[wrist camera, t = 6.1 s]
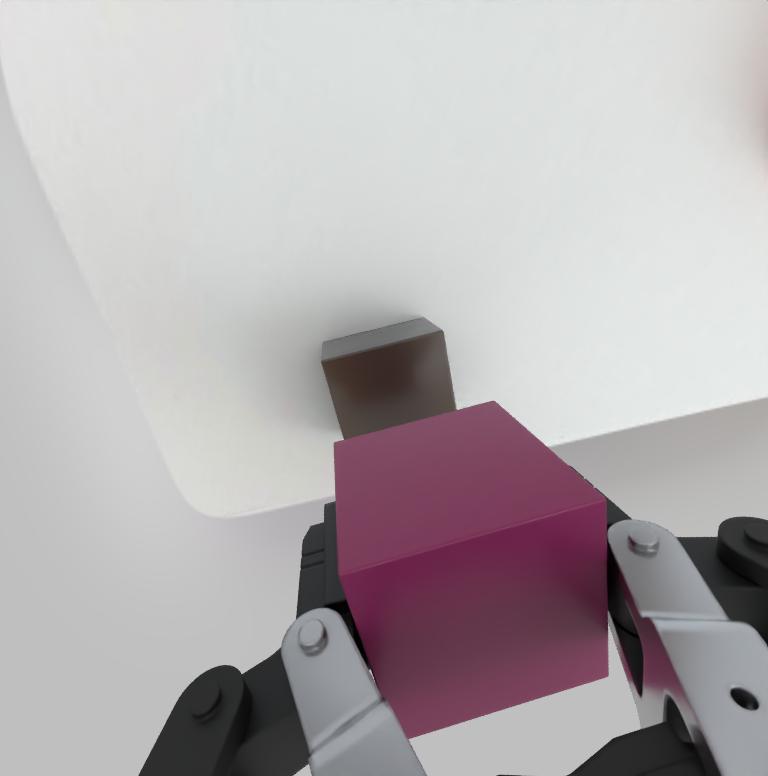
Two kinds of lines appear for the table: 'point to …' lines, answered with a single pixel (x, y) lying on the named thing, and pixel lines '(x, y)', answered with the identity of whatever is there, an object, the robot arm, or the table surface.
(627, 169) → the table surface
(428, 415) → the dark brown block
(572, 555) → the mulberry block
